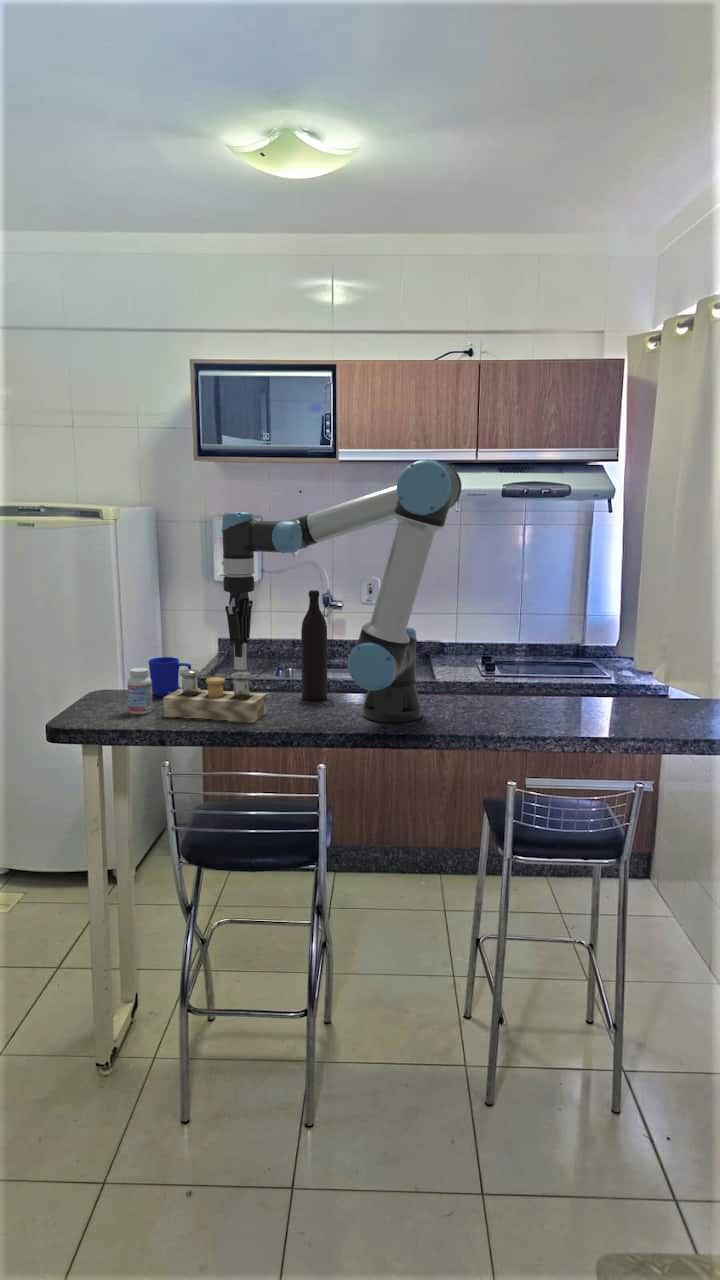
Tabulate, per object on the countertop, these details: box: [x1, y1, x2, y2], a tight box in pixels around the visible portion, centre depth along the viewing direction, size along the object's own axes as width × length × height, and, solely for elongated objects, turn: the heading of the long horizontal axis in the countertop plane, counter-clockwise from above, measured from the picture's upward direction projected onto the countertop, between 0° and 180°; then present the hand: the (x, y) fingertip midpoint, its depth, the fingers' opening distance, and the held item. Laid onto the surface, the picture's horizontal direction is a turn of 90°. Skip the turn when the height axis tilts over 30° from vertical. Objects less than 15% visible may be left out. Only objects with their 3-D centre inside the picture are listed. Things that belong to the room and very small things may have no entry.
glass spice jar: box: [230, 671, 252, 700], centre depth 202 cm, size 5×5×7 cm
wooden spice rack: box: [162, 687, 268, 724], centre depth 204 cm, size 24×10×5 cm, turn 78°
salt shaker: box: [179, 668, 200, 697], centre depth 205 cm, size 5×5×7 cm
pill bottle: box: [126, 667, 154, 715], centre depth 206 cm, size 6×6×11 cm
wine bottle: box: [300, 589, 328, 702], centre depth 219 cm, size 7×7×30 cm
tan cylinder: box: [205, 676, 226, 698], centre depth 203 cm, size 5×5×7 cm
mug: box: [148, 656, 192, 698], centre depth 223 cm, size 8×12×10 cm
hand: (240, 668), depth 201 cm, fingers closed
